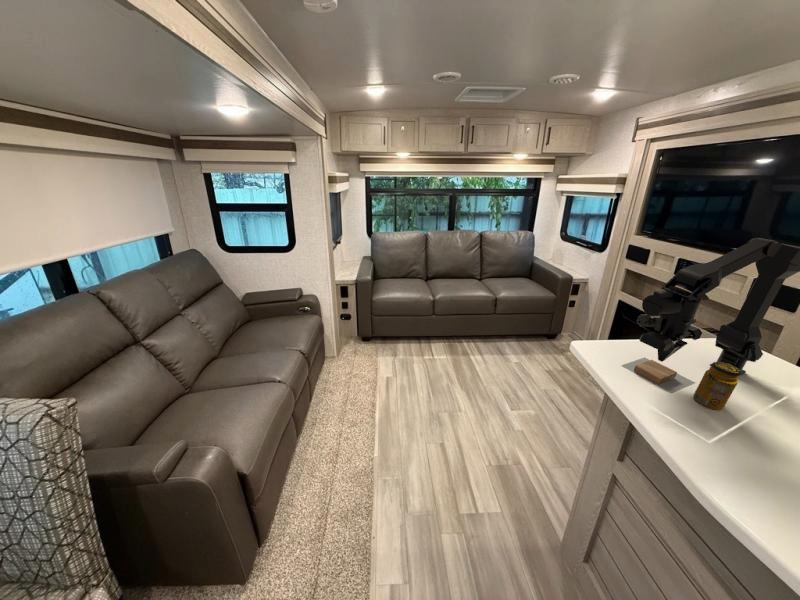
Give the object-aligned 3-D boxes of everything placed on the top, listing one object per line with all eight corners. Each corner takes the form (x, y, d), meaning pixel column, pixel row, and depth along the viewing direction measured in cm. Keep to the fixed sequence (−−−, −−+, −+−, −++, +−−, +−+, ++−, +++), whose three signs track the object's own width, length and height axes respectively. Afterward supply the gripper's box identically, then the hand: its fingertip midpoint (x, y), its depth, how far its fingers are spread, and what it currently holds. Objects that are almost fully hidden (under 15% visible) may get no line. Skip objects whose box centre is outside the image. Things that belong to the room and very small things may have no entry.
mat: (644, 358, 102) (644, 357, 102) (694, 383, 90) (695, 382, 90) (620, 366, 97) (620, 365, 97) (670, 394, 85) (671, 393, 85)
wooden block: (651, 359, 96) (635, 365, 93) (677, 372, 90) (661, 378, 88) (649, 365, 97) (633, 371, 94) (674, 378, 91) (658, 385, 88)
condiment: (728, 407, 81) (749, 369, 77) (718, 420, 77) (740, 381, 72) (693, 391, 87) (710, 355, 82) (682, 402, 83) (700, 365, 78)
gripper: (667, 297, 95) (650, 341, 101) (629, 307, 88) (613, 353, 94) (712, 312, 86) (690, 359, 92) (673, 324, 79) (652, 374, 85)
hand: (660, 360), depth 91 cm, fingers closed
